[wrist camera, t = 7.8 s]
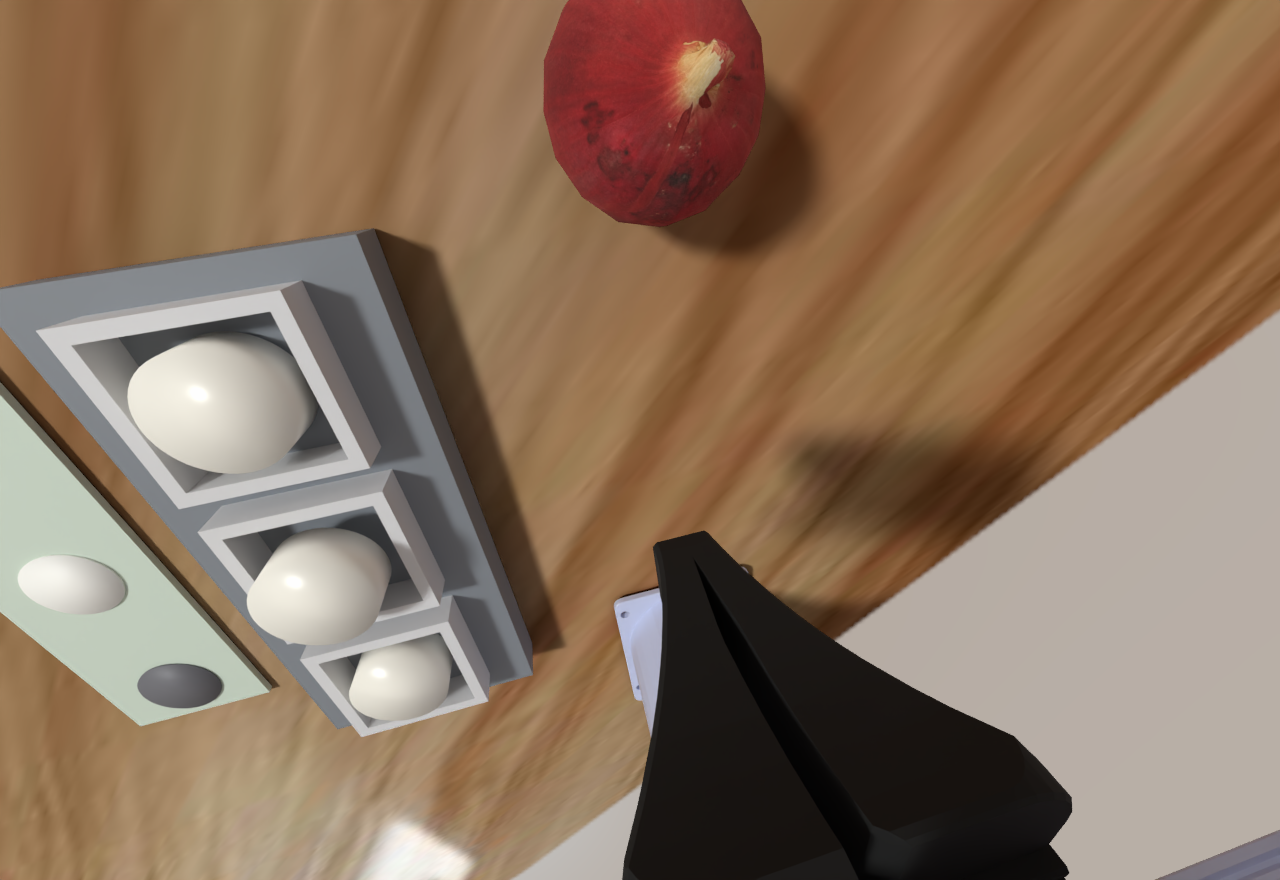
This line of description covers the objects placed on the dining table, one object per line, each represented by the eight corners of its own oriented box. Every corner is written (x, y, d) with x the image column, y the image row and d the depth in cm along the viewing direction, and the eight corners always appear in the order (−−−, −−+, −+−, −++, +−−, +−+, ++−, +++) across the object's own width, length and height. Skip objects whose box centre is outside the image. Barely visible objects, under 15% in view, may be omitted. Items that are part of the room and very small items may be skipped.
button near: (339, 432, 17) (319, 457, 15) (216, 456, 16) (183, 486, 14) (280, 320, 14) (252, 337, 13) (138, 344, 14) (90, 365, 12)
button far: (464, 671, 24) (460, 705, 22) (381, 693, 23) (372, 730, 22) (436, 618, 22) (430, 652, 20) (345, 642, 21) (332, 678, 20)
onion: (693, 224, 18) (798, 253, 11) (538, 208, 17) (550, 228, 10) (721, 28, 15) (884, -94, 8) (539, -12, 14) (557, -196, 7)
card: (272, 686, 24) (268, 693, 24) (144, 720, 24) (139, 728, 23) (-20, 359, 15) (-32, 363, 15) (-244, 397, 14) (-263, 402, 14)
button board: (532, 643, 27) (533, 701, 24) (349, 692, 26) (327, 760, 23) (373, 228, 16) (339, 240, 13) (37, 280, 14) (-89, 306, 11)
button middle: (407, 592, 19) (397, 628, 18) (303, 617, 19) (283, 657, 17) (366, 516, 17) (350, 549, 16) (248, 543, 17) (220, 580, 15)
